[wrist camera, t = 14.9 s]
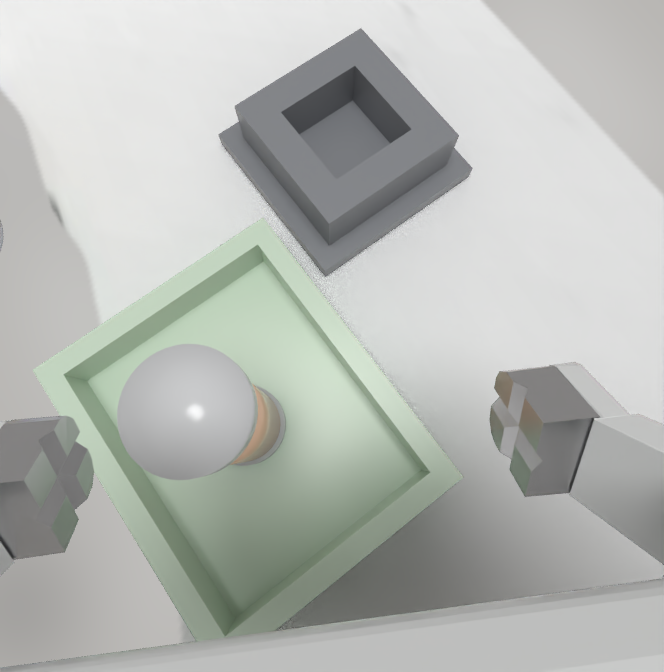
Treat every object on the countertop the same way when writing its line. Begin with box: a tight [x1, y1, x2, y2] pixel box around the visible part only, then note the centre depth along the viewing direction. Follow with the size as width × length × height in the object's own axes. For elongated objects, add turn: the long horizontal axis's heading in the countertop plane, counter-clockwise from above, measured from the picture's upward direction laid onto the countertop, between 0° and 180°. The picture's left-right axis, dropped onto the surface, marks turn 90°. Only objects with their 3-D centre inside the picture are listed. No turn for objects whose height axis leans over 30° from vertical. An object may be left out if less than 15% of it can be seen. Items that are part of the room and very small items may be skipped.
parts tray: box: [33, 218, 464, 641], centre depth 26 cm, size 18×15×4 cm
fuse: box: [117, 344, 286, 480], centre depth 21 cm, size 4×4×12 cm
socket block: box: [219, 29, 473, 276], centre depth 30 cm, size 12×12×4 cm
